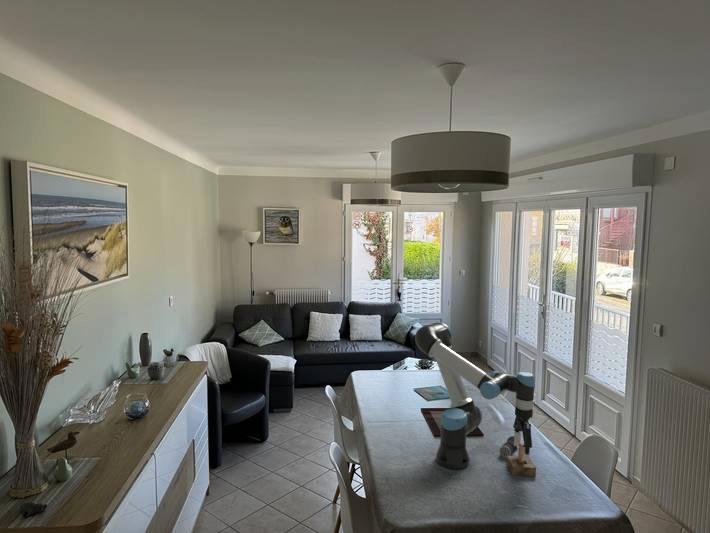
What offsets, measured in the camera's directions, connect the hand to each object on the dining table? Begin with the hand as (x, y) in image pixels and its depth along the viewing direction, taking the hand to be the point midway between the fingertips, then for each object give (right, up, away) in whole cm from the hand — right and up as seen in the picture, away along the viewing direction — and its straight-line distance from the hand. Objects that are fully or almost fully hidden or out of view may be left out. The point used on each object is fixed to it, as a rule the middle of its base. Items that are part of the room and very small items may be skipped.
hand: (521, 452), depth 214 cm
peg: (0, -8, +1) cm, 8 cm away
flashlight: (+1, -7, +18) cm, 20 cm away
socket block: (0, -8, +1) cm, 8 cm away
